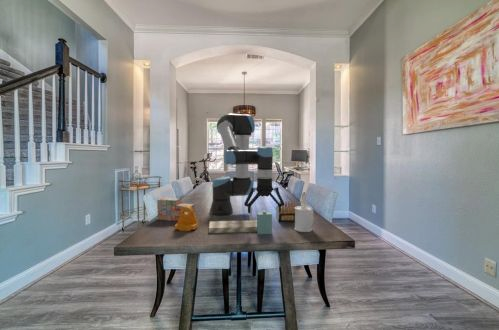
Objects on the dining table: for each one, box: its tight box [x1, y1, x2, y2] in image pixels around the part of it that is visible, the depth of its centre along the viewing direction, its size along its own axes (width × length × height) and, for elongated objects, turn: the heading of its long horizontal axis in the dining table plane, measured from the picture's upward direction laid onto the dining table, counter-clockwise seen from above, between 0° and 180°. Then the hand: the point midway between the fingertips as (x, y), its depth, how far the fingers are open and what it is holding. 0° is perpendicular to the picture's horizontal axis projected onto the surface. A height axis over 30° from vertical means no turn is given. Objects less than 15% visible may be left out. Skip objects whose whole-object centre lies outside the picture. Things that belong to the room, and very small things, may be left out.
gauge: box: [256, 210, 273, 235], centre depth 135 cm, size 7×14×11 cm, turn 6°
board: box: [208, 219, 257, 234], centre depth 137 cm, size 32×12×2 cm, turn 96°
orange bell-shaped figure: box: [174, 205, 199, 232], centre depth 136 cm, size 11×7×12 cm, turn 90°
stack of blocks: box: [156, 197, 195, 222], centre depth 154 cm, size 21×6×12 cm, turn 76°
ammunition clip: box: [277, 201, 297, 223], centre depth 149 cm, size 11×2×12 cm, turn 94°
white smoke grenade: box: [293, 191, 314, 233], centre depth 134 cm, size 10×9×20 cm
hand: (264, 219), depth 130 cm, fingers open, 13 cm apart
